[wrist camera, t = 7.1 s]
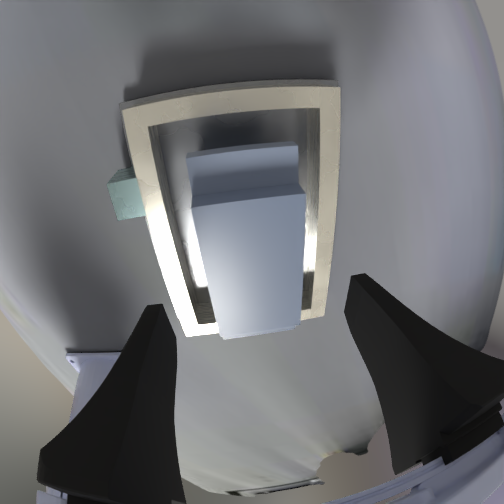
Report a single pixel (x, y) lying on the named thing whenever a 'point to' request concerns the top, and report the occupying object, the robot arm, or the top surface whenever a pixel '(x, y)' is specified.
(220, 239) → the block
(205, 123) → the frame
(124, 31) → the top surface
